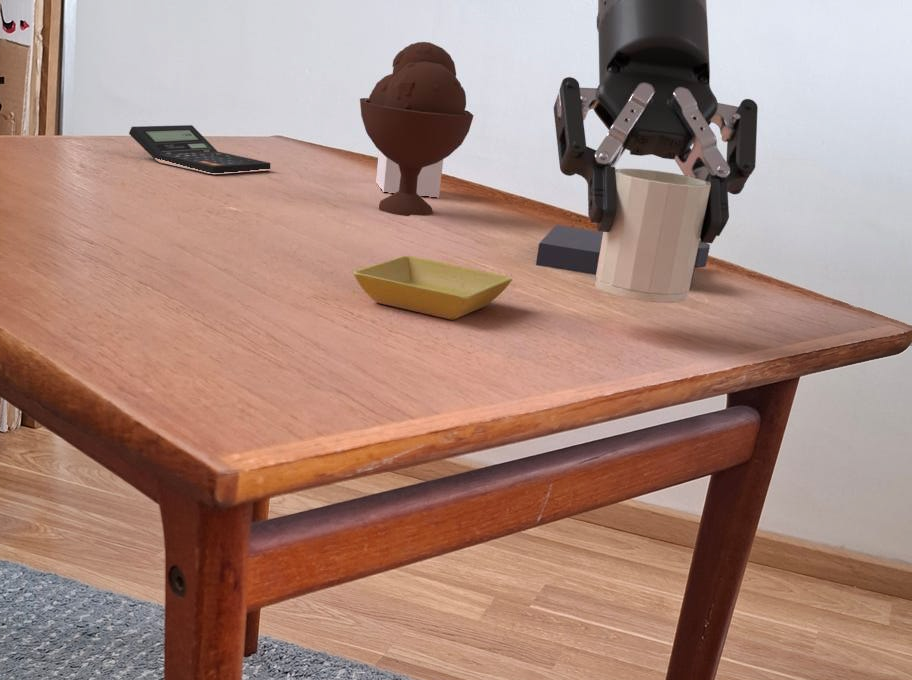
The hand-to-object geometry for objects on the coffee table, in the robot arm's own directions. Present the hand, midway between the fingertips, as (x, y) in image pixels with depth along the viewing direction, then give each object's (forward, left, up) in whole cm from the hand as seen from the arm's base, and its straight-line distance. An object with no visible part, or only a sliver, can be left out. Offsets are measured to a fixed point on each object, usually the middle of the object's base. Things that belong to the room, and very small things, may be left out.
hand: (659, 230), depth 82 cm
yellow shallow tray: (+15, +1, -7) cm, 16 cm away
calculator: (+51, -46, -7) cm, 69 cm away
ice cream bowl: (+26, -37, -7) cm, 46 cm away
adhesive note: (+29, -50, -7) cm, 59 cm away
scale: (+4, -25, -7) cm, 27 cm away
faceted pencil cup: (0, -2, -4) cm, 5 cm away
